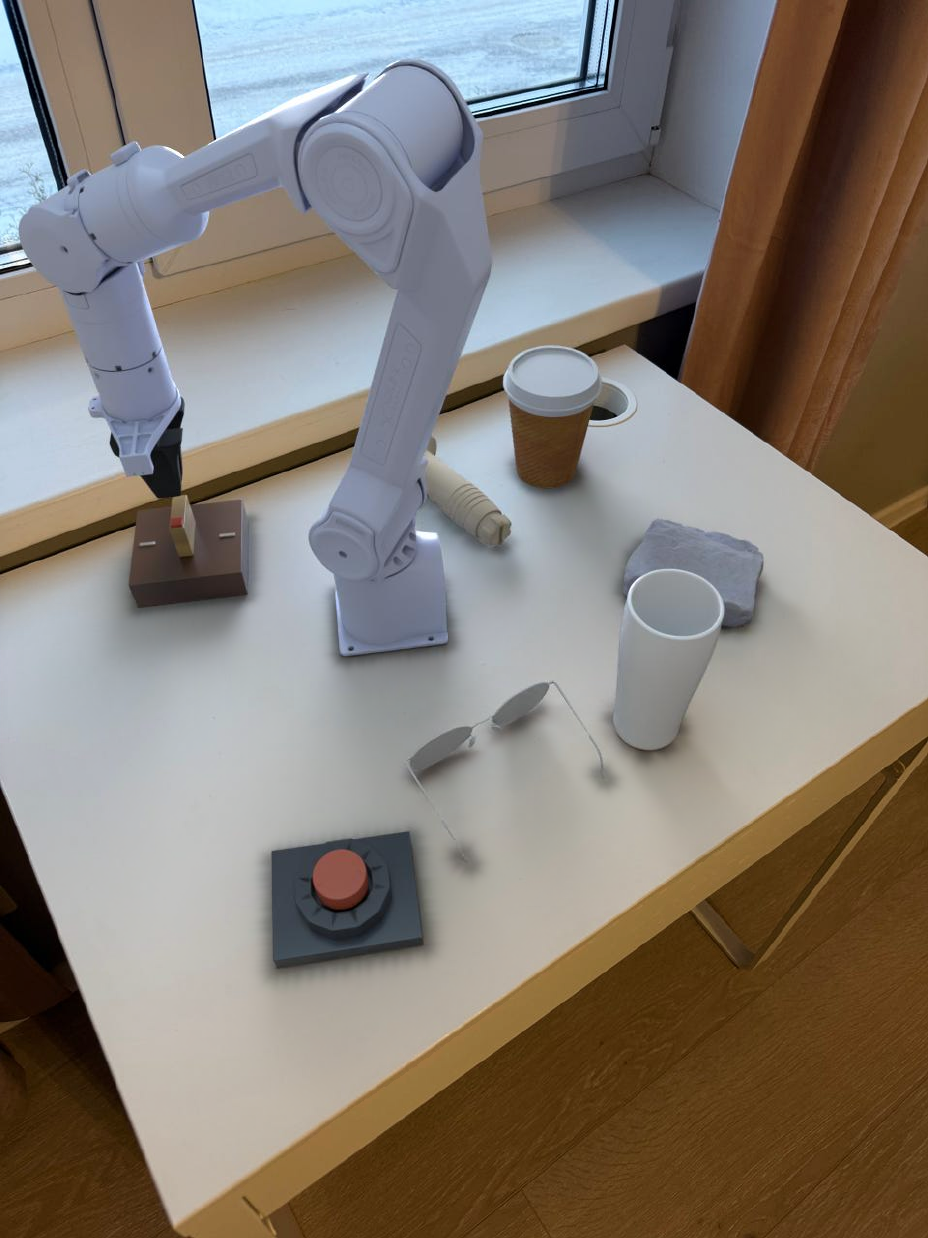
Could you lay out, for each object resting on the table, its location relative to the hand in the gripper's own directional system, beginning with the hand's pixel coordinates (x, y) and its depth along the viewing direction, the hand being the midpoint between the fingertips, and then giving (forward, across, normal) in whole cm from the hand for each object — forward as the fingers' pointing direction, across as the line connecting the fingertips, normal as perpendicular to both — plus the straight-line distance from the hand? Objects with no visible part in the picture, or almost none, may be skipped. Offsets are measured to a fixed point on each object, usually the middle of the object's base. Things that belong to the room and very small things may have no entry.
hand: (169, 487), depth 78 cm
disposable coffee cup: (+10, -8, +36) cm, 38 cm away
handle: (+8, +3, +29) cm, 30 cm away
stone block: (+10, +10, +46) cm, 48 cm away
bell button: (+7, +36, +12) cm, 39 cm away
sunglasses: (+10, +28, +25) cm, 39 cm away
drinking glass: (+10, +25, +37) cm, 46 cm away
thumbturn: (+6, 0, 0) cm, 6 cm away
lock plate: (+9, 0, 0) cm, 9 cm away
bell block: (+9, +36, +12) cm, 39 cm away
